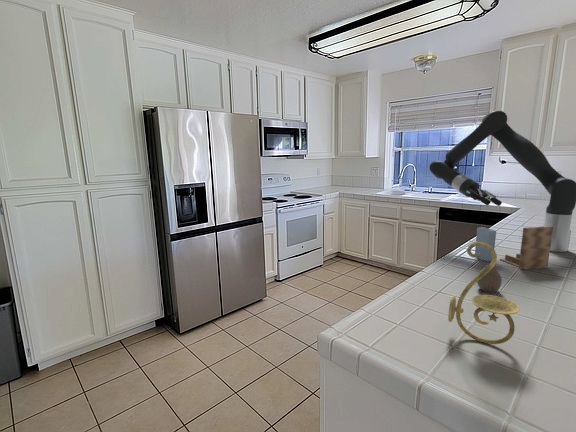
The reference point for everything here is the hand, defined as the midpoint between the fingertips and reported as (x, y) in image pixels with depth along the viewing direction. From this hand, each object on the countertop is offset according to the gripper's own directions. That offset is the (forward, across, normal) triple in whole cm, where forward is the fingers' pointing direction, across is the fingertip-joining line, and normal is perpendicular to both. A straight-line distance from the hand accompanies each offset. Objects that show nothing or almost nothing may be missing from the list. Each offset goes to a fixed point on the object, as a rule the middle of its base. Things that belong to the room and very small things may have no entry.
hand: (495, 203), depth 137 cm
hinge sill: (+20, +4, +16) cm, 26 cm away
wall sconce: (+47, -64, +13) cm, 81 cm away
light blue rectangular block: (+10, -2, +22) cm, 24 cm away
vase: (+30, -33, +17) cm, 48 cm away
